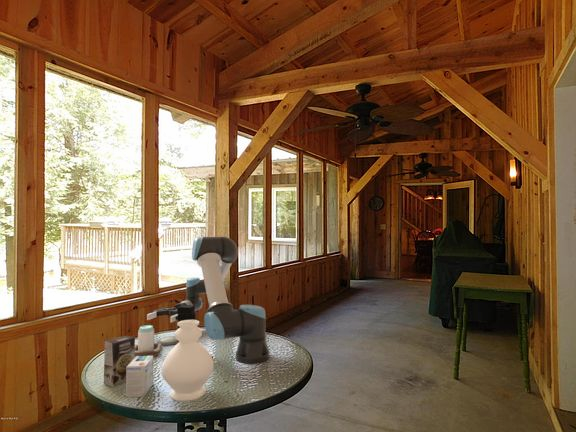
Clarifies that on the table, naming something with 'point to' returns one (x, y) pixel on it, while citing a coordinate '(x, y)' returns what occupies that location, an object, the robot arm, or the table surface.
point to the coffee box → (118, 359)
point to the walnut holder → (149, 353)
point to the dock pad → (167, 341)
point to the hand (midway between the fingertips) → (159, 318)
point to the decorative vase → (187, 364)
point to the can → (146, 338)
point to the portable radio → (185, 313)
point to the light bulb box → (139, 376)
